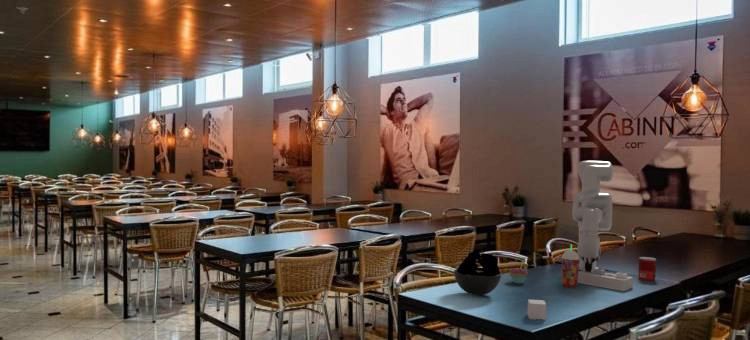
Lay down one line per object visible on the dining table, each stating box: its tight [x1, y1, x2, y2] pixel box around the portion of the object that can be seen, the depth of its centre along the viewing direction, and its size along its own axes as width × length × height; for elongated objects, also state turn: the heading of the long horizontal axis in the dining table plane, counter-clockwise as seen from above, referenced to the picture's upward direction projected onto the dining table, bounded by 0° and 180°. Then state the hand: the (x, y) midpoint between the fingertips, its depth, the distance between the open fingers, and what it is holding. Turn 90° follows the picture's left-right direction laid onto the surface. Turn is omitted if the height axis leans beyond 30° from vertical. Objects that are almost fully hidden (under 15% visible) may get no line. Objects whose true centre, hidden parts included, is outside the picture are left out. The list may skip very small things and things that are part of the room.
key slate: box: [593, 268, 606, 275], centre depth 286 cm, size 4×4×4 cm
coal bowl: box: [453, 249, 502, 297], centre depth 254 cm, size 20×20×19 cm
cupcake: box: [509, 259, 528, 284], centre depth 283 cm, size 9×8×12 cm
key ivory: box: [615, 271, 628, 279], centre depth 279 cm, size 4×4×4 cm
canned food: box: [637, 256, 657, 282], centre depth 302 cm, size 8×8×11 cm
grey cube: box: [526, 299, 547, 321], centre depth 222 cm, size 6×6×6 cm
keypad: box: [577, 270, 634, 292], centre depth 284 cm, size 23×11×5 cm, turn 46°
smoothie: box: [561, 244, 580, 289], centre depth 279 cm, size 8×8×20 cm
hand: (588, 271), depth 290 cm, fingers closed
